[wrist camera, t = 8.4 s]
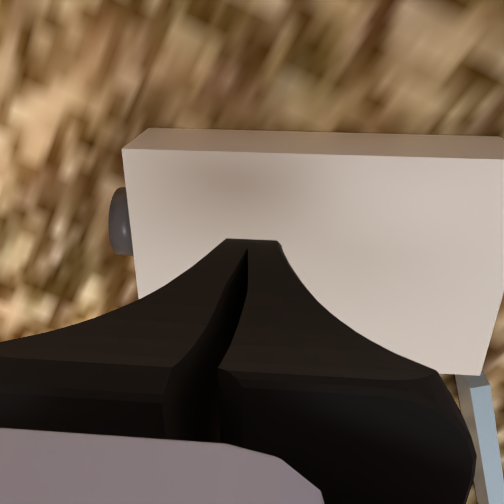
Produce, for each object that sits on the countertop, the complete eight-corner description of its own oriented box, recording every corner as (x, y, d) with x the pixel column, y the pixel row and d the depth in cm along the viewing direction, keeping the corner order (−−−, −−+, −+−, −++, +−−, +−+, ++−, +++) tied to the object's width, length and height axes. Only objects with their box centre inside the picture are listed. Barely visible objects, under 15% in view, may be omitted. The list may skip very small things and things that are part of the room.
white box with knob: (499, 136, 19) (540, 160, 16) (454, 326, 23) (479, 376, 20) (125, 127, 20) (93, 147, 17) (145, 311, 24) (122, 355, 21)
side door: (449, 344, 23) (470, 388, 20) (484, 337, 22) (510, 381, 20) (480, 521, 28) (500, 574, 25) (509, 517, 28) (532, 571, 25)
